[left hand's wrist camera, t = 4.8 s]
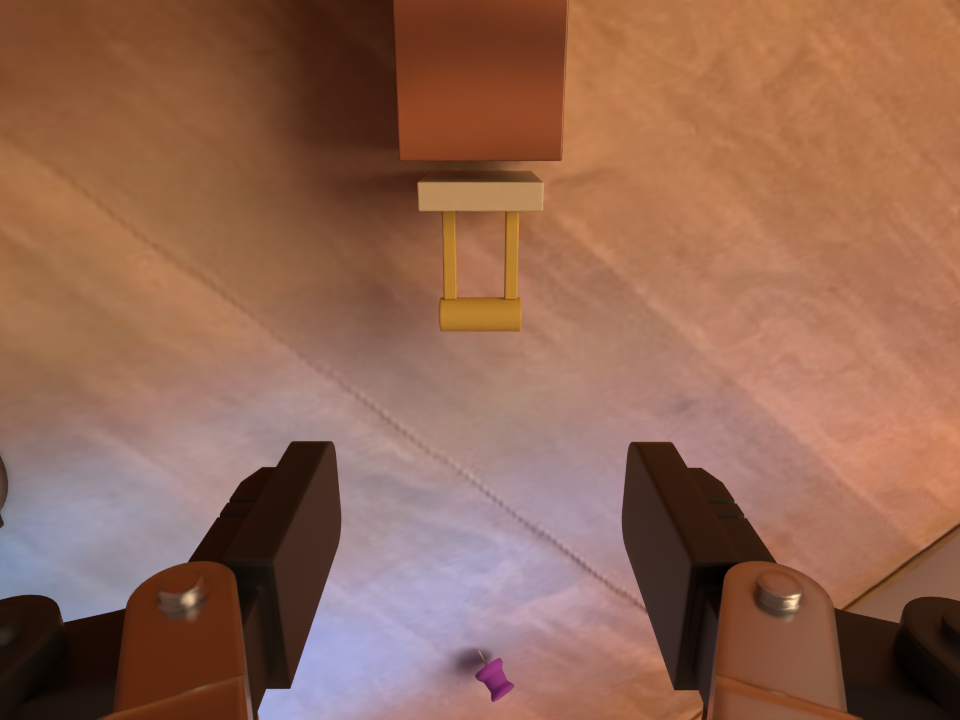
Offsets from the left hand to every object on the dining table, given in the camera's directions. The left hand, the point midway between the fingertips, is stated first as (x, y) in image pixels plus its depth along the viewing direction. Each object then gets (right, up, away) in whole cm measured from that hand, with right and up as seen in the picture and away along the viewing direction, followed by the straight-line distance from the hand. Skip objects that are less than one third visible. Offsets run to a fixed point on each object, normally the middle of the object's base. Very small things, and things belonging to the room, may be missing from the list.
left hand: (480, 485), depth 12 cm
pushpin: (+1, -19, +33) cm, 38 cm away
